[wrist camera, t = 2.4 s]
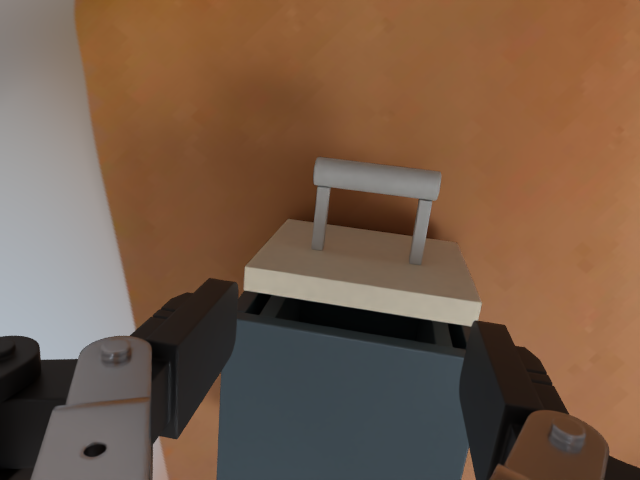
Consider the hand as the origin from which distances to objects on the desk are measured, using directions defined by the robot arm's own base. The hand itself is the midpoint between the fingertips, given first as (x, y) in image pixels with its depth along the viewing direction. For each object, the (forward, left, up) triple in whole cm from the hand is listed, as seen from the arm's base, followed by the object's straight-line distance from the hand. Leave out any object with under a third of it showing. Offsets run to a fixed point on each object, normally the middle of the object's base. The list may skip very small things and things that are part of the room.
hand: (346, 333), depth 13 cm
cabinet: (+9, -7, -18) cm, 21 cm away
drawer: (+5, -4, -17) cm, 18 cm away
